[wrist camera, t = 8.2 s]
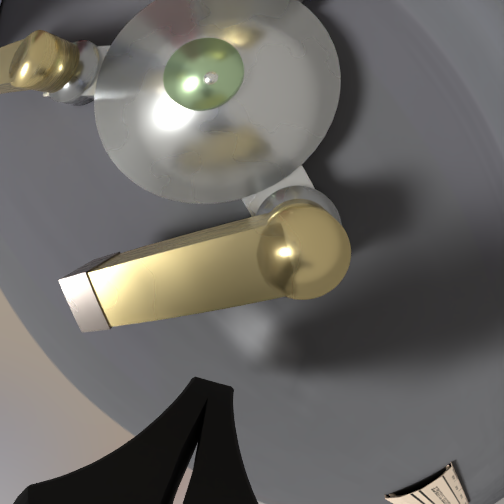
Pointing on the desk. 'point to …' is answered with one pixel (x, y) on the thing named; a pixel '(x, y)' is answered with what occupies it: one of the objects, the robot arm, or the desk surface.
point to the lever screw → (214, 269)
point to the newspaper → (435, 491)
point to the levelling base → (214, 99)
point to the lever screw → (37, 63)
